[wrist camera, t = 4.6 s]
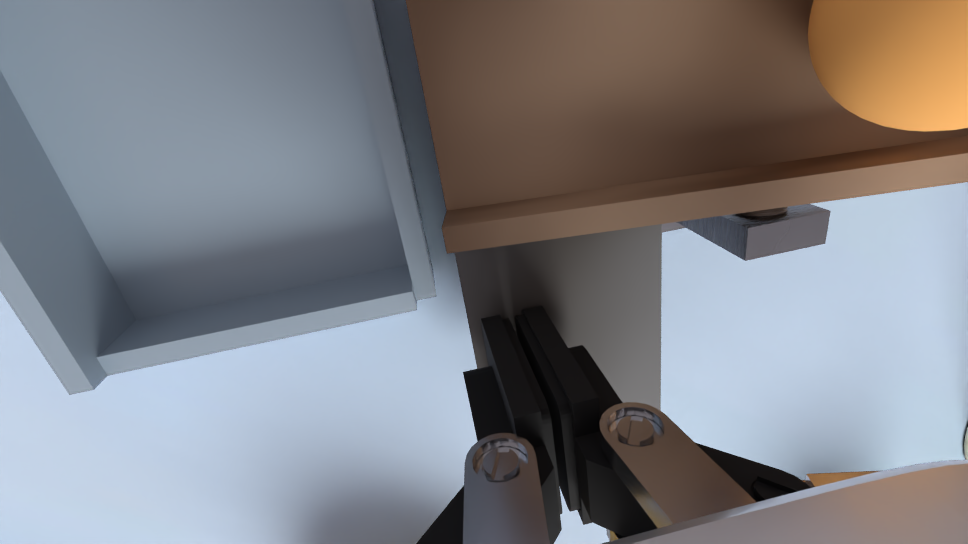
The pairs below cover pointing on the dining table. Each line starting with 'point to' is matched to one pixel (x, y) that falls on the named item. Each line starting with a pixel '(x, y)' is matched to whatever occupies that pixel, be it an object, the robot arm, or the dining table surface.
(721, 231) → the lever stand
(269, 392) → the dining table surface
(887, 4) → the ball
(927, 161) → the brown tilting tray
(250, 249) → the tray
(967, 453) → the coffee can
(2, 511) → the dining table surface
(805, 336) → the dining table surface
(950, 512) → the robot arm
